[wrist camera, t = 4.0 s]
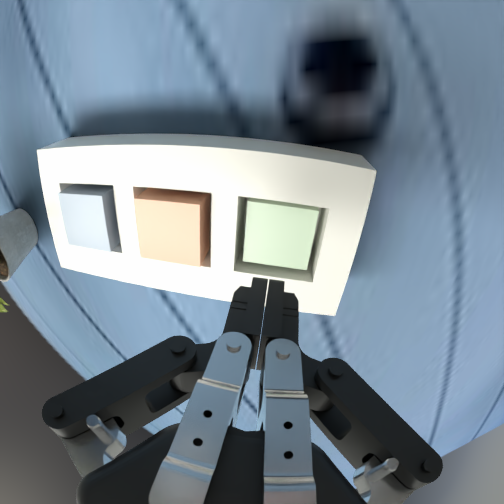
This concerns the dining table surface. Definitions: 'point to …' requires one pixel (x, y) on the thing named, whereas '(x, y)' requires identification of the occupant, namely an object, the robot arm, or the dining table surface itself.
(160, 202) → the key terracotta
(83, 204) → the key slate
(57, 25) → the dining table surface
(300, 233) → the key sage
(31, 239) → the house plant
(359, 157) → the keypad frame
